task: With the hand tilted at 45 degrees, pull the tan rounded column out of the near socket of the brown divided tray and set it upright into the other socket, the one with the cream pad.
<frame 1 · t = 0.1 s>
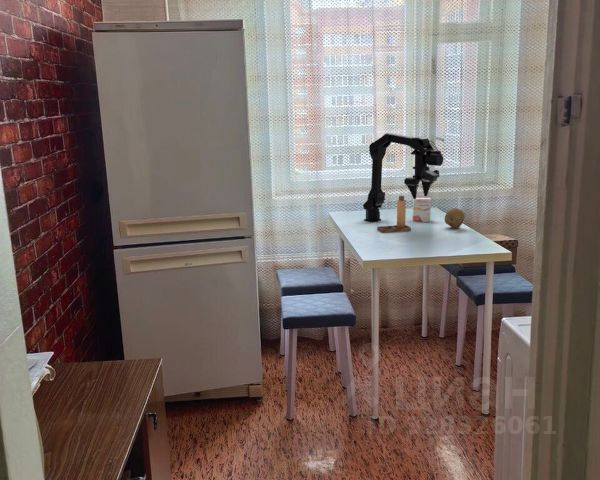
hand: (420, 197, 294), 15 cm above the table, tool pointing down, fingers open, 9 cm apart
ink cartridge box: (421, 221, 313), on the table
tan rounded column: (400, 229, 292), resting on brown divided tray
brown divided tray: (393, 231, 292), on the table
natural sponge: (453, 229, 294), on the table
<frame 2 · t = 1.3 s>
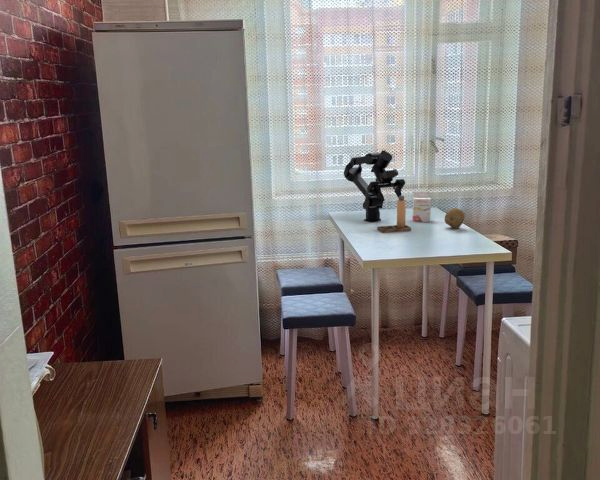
hand: (392, 199, 297), 13 cm above the table, tool tilted 45°, fingers open, 9 cm apart
nothing on the table moved.
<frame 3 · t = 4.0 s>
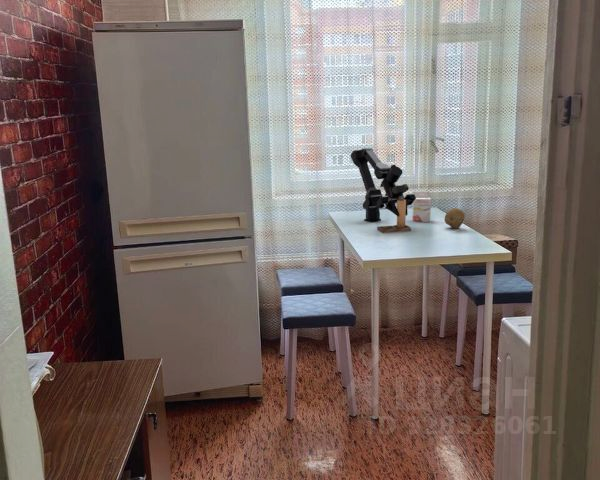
hand: (402, 215, 290), 7 cm above the table, tool tilted 45°, fingers closed on tan rounded column, 4 cm apart
tan rounded column: (400, 229, 292), point 1 cm above the table, touching brown divided tray, gripper
everything else where it was.
when the fingers open (8 cm above the table, at t = 8.8 s): tan rounded column stays where it is, resting on brown divided tray.
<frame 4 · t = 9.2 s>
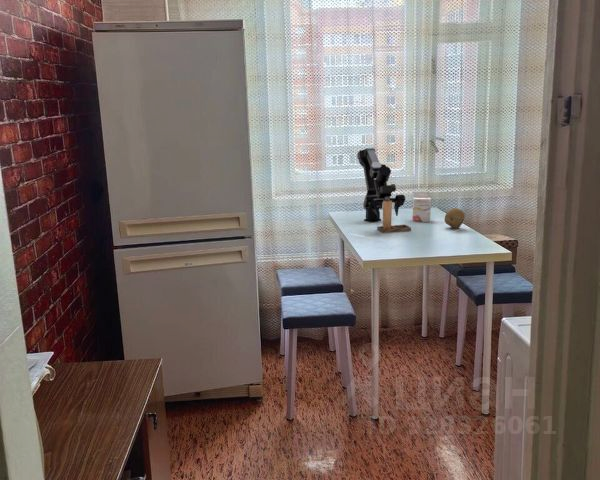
hand: (387, 215, 288), 8 cm above the table, tool tilted 45°, fingers open, 8 cm apart
tan rounded column: (386, 230, 291), point 1 cm above the table, touching brown divided tray
everything else where it was.
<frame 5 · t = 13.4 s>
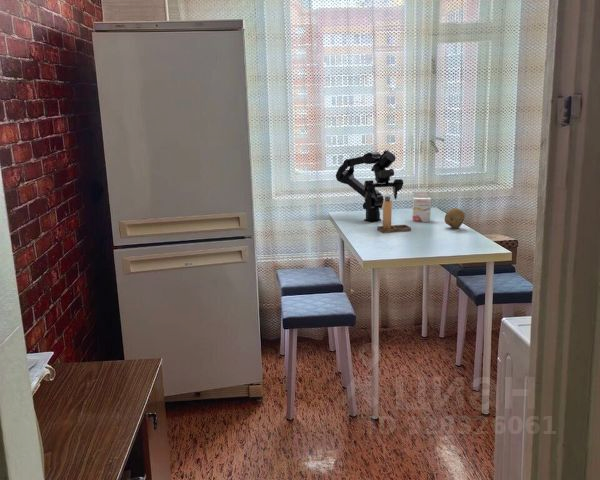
hand: (386, 199, 297), 14 cm above the table, tool tilted 45°, fingers open, 9 cm apart
nothing on the table moved.
at the end: tan rounded column 0.1 cm from the target spot on the brown divided tray, point 0.6 cm above the brown divided tray's base; tan rounded column tilted 1°; the gripper is holding nothing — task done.
